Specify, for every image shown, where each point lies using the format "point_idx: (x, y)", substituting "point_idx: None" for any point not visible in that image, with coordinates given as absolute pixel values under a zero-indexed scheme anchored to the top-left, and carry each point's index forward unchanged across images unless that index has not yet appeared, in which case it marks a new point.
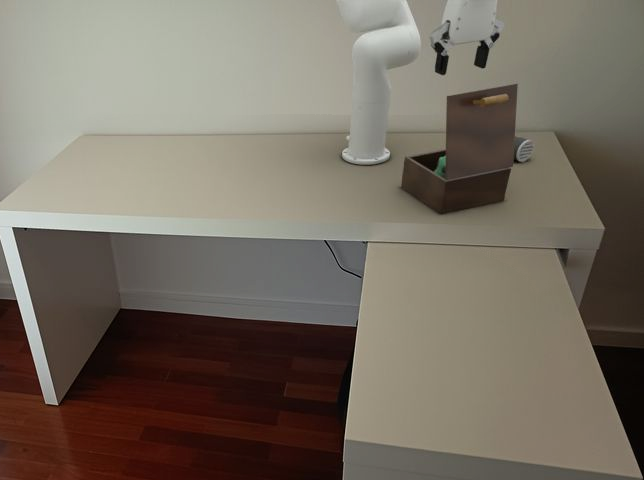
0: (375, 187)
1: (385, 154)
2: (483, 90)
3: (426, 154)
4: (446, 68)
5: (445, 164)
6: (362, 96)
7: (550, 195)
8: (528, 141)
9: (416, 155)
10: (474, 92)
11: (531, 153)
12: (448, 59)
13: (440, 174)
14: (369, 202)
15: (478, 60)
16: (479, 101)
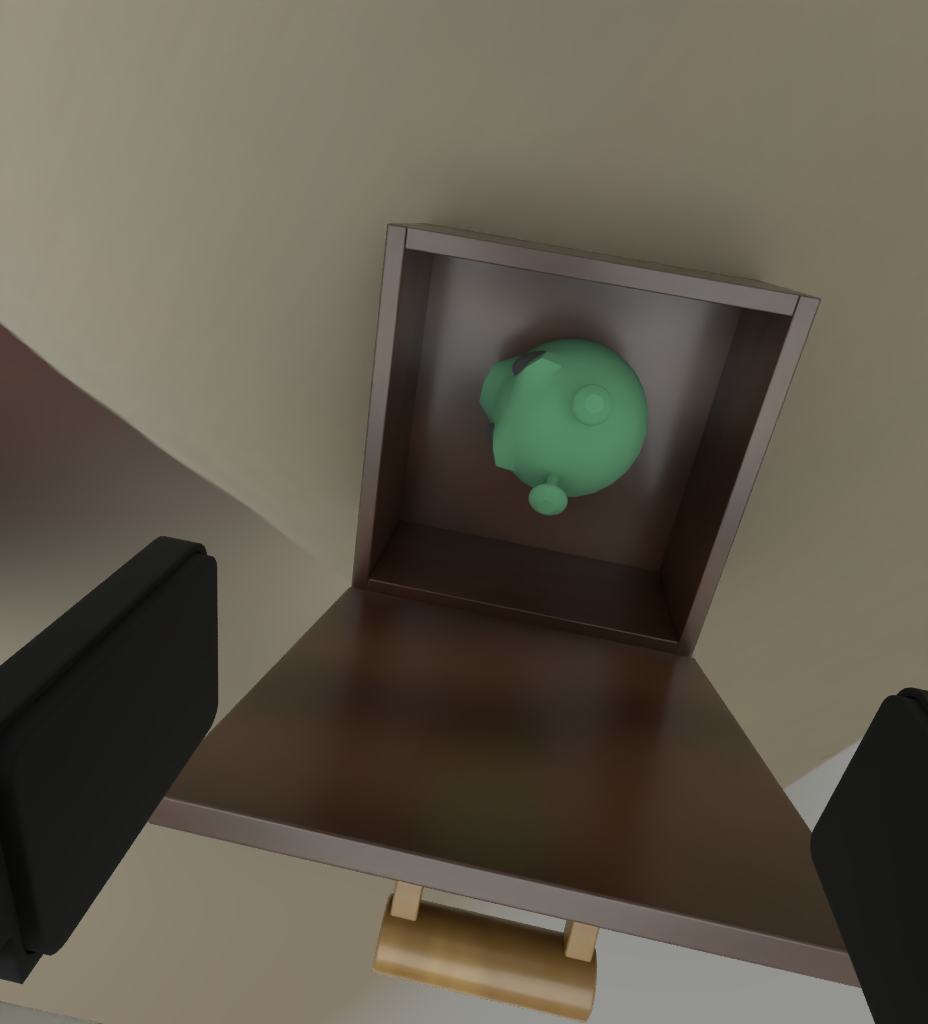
0: (323, 142)
1: None
2: (502, 902)
3: (520, 267)
4: (166, 778)
5: (495, 445)
6: None
7: (845, 646)
8: None
9: (456, 249)
10: (409, 877)
11: None
12: (89, 905)
13: (490, 417)
14: (213, 274)
15: (894, 835)
16: (391, 902)
